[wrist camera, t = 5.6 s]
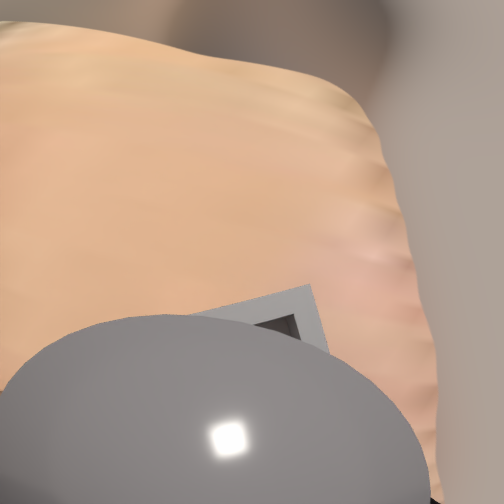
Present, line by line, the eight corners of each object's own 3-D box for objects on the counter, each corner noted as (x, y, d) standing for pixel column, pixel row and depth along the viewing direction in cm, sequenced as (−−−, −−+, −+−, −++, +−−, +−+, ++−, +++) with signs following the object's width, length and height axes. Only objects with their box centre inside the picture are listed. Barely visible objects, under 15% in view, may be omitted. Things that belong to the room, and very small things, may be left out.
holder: (331, 418, 21) (350, 431, 17) (201, 454, 20) (195, 474, 16) (297, 293, 24) (309, 283, 20) (165, 327, 22) (151, 323, 19)
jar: (296, 427, 14) (443, 584, 2) (190, 459, 13) (107, 650, 1) (260, 326, 16) (356, 243, 3) (153, 358, 15) (-57, 365, 2)
